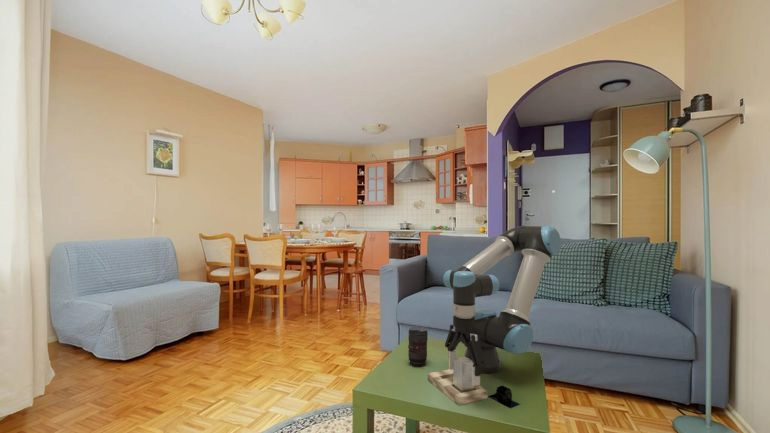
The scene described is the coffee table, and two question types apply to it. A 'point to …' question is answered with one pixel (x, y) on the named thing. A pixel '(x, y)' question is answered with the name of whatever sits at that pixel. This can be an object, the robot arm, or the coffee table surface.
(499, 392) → the black mounting bracket
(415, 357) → the camera lens
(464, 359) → the square peg
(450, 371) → the plate
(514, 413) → the coffee table surface
